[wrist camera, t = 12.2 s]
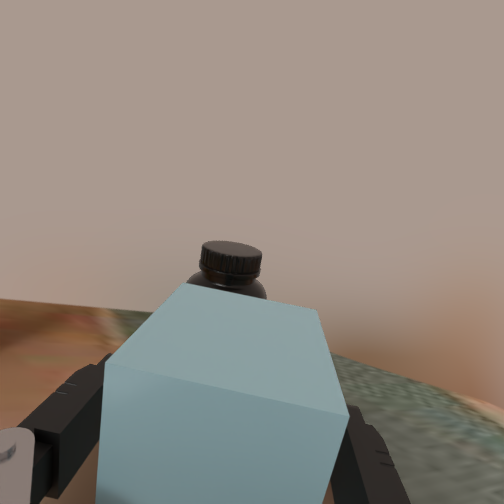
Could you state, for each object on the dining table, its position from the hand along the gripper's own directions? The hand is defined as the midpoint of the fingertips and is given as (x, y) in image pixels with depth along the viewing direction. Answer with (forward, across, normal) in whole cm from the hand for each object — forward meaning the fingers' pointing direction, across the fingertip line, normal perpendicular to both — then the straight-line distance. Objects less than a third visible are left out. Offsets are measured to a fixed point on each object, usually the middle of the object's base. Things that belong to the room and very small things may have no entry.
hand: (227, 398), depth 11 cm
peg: (-2, 0, +8) cm, 8 cm away
